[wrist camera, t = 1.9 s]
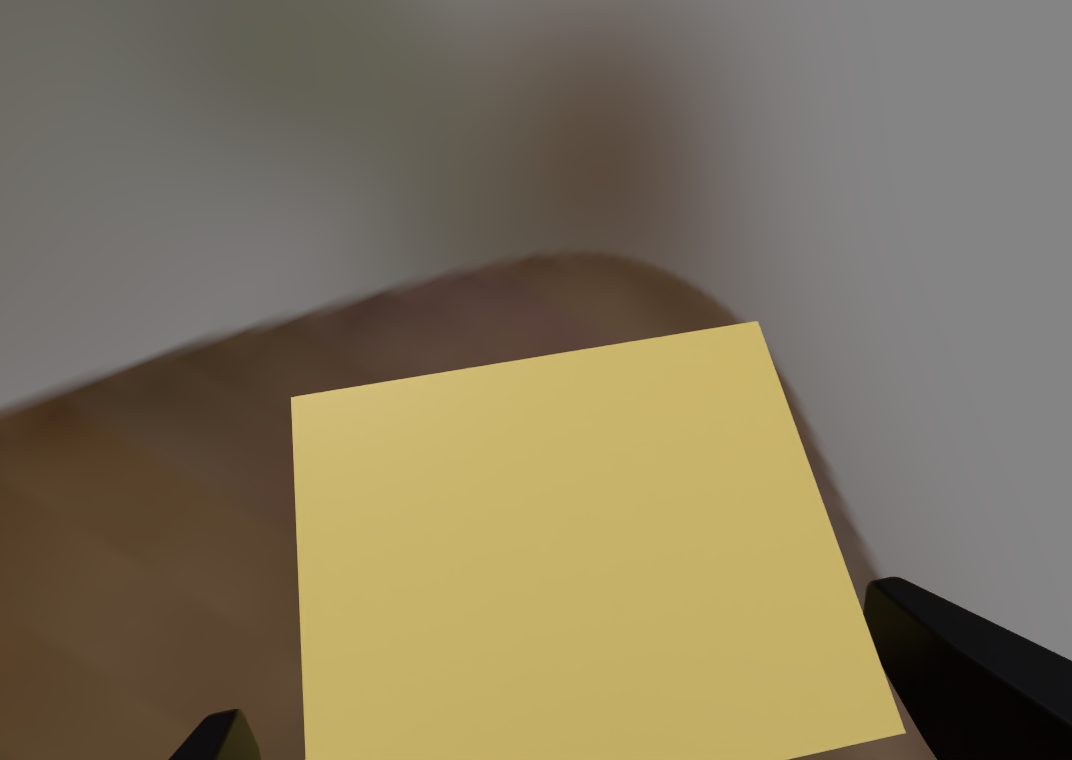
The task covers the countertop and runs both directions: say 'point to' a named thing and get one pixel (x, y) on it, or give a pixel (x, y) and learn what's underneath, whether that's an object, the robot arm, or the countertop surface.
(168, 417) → the countertop surface
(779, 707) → the yellow block on base
